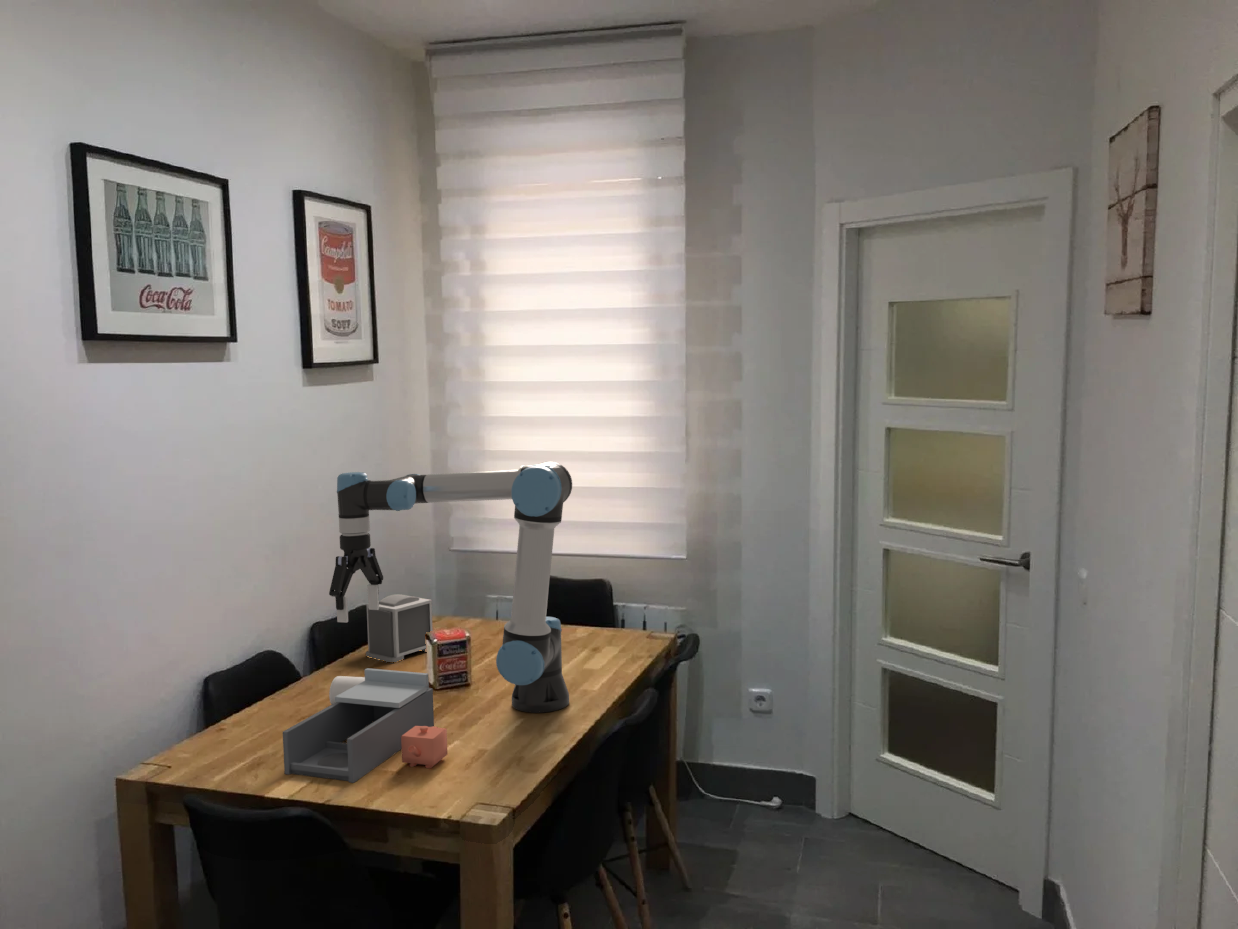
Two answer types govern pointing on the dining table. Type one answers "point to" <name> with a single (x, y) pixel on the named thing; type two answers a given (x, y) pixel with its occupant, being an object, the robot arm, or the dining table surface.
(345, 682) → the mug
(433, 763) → the pink cube teapot
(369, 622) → the grey panelled box
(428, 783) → the dining table surface
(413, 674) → the lid
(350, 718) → the housing
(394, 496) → the robot arm
